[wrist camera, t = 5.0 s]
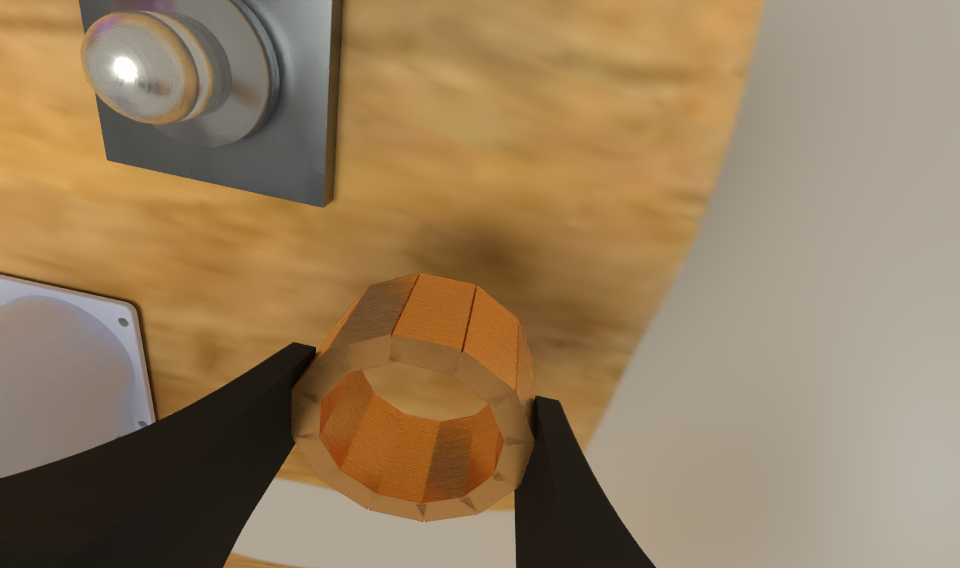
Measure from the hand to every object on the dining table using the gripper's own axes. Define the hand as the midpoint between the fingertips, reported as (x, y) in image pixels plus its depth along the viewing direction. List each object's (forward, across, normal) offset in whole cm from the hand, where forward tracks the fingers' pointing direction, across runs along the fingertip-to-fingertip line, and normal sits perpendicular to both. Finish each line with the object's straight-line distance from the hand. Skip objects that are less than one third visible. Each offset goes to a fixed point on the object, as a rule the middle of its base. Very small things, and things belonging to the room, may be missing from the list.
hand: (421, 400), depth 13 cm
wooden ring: (+2, 0, 0) cm, 2 cm away
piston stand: (+9, +10, -6) cm, 15 cm away
